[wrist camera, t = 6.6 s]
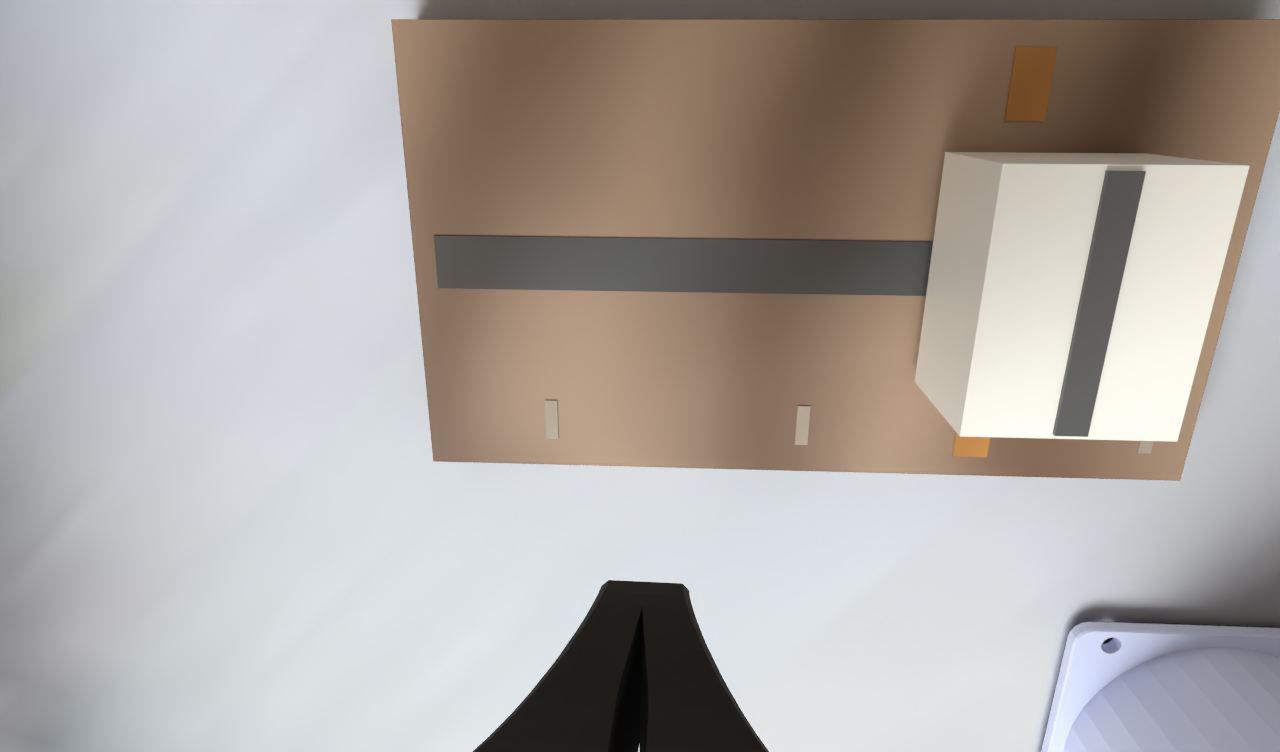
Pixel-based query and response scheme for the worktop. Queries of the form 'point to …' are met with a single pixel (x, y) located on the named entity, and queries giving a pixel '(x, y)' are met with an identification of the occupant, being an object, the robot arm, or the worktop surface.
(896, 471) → the console board
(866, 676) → the worktop surface
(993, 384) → the fader tab
